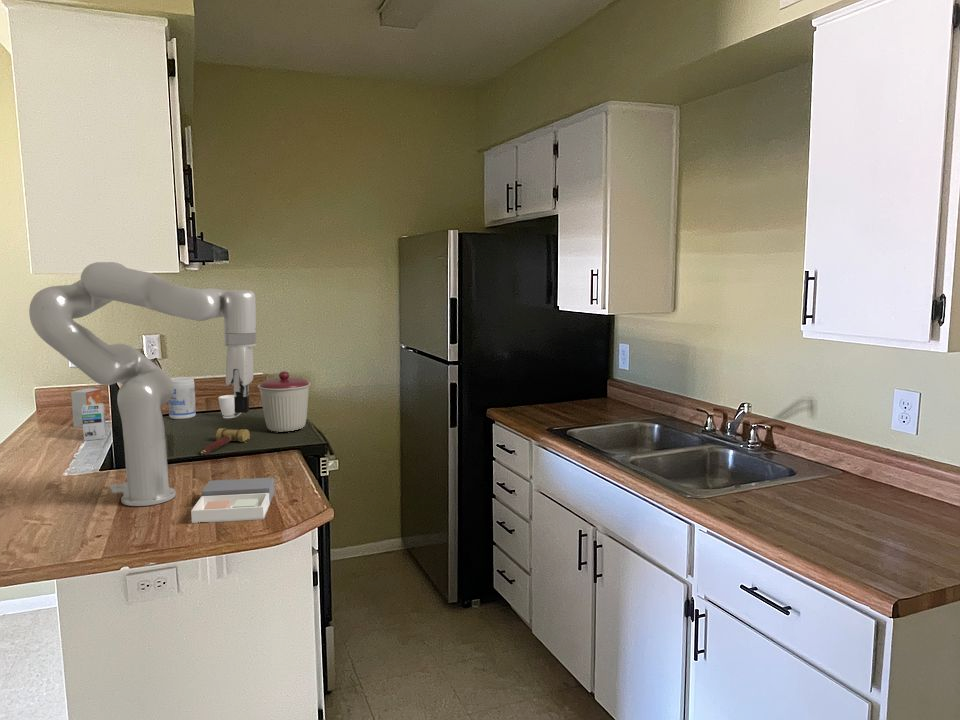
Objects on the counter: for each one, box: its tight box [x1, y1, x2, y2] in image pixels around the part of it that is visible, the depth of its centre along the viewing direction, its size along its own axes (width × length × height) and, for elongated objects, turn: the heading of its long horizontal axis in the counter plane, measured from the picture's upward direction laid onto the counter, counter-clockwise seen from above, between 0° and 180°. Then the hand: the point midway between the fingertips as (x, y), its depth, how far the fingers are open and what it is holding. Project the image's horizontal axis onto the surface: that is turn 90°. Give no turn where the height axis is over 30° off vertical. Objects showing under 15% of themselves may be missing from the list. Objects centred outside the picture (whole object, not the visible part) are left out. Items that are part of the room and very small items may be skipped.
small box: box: [70, 387, 103, 428], centre depth 265 cm, size 8×6×13 cm
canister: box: [257, 370, 311, 433], centre depth 255 cm, size 18×18×21 cm
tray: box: [190, 493, 271, 524], centre depth 172 cm, size 16×10×3 cm, turn 99°
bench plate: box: [201, 476, 276, 504], centre depth 182 cm, size 16×9×4 cm, turn 99°
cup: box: [217, 394, 242, 419], centre depth 277 cm, size 7×10×8 cm
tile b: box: [232, 499, 258, 508], centre depth 171 cm, size 5×5×2 cm
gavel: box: [200, 427, 251, 453], centre depth 233 cm, size 21×5×10 cm
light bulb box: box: [81, 402, 107, 442], centre depth 247 cm, size 11×7×11 cm, turn 26°
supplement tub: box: [168, 377, 197, 420], centre depth 277 cm, size 10×10×15 cm
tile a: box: [204, 501, 230, 509], centre depth 170 cm, size 5×5×2 cm
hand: (241, 411), depth 182 cm, fingers closed
